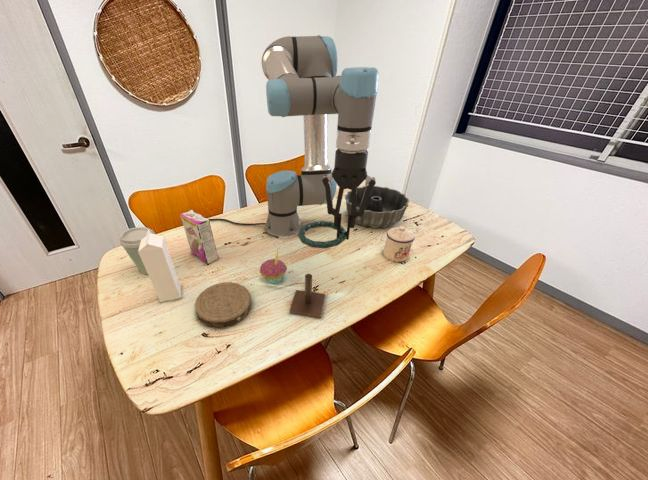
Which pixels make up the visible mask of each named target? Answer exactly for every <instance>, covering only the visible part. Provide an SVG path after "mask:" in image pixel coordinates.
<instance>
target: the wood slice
mask: <svg viewBox="0 0 648 480" xmlns="http://www.w3.org/2000/svg"><path fill="white" fill-rule="evenodd" d="M194 310H195V313H196V316H197V319H198V320H199V322H200V323H201V324H202V325H204V326H206V327H207V328H212V329H227V328H230V327H234V326H236V325H237V324H239V323H241V322H243V321H244V320H245V319H246V318H247V317H248V316H249V314H250V312H251V310H252V297H251V294H250V291H249V290H248V288H246V286H244V285H243V284H240V283H238V282H232V281H229V282H228V281H227V282H226V281H225V282H224V281H223V282H218V283H216V284H213V285H210V286H209V287H207V288H205V289H204V290H203V291H201V292H200V293H199V295H198V296H197V297H196V299H195V302H194Z"/></svg>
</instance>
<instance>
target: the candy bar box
mask: <svg viewBox="0 0 648 480" xmlns="http://www.w3.org/2000/svg"><path fill="white" fill-rule="evenodd" d="M179 216H180V219H181V222H182V225H183V230H184V232H185V235H186V239H187V242H188V245H189V248H190V252H191V254H193V255H194V256H195V257H197V258H199V260H202V262H204V263H205V264H206V265H209V264H212V263H213V262H215V261H217V260H218V259H219V256H218V252H217V251H218V250H217V247H216V243H215V239H214V235H213V230H212V227H211V222H210V221H211V220H208V219H209V218H207V217H205V216H204V215H201V214H200V213H198V212H196V211H195V210H193V209H190V210H187V211H185V212H182V213H180V214H179Z"/></svg>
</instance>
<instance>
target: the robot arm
mask: <svg viewBox="0 0 648 480" xmlns="http://www.w3.org/2000/svg"><path fill="white" fill-rule="evenodd" d="M338 62H339V61H338V50H337V46H336V43H335V41H334V39H333V38H332V37H331V36H328V35H327V36H326V35H320V34H319V35H318V34H317V35H305V36H304V35H303V36H302V35H301V36H289V35H288V36H282V37H280V38H277V39H276V40H274V41H272V42H271V43H270V44H268V46H267V47H266V48H265V50H264V51H263V53H262V57H261V68H262V72H263V74H264V76H265V78H266V79H267V82H266V85H265V88H266V90H265V93H266V106H267V113H268V114H269V115H270V116H271V117H281V118H285V117H299V116H301V117H303V143H304V144H303V146H304V149H303V151H304V166H303V167H302V168H301V170H300V171H301V172H300V174H297V172H296V171H294V170H287V169H286V170H280V171H277V172H276V171H275V172H274V173H271V174H270V175H269V176H268V177H267V179H266V188H265V190H266V196H267V210H268V211H267V213H268V214H267V216H266V221H265V222H256V223H255V222H254V223H245V222H243V223H242V222H235V221H232V220H229V219H227V218H207V219H208V220H209V221H224V222H228V223H230V224H233V225H237V226H263V225H265V226H264V227H265V228H264V229H265V232H266V234H267V235H269V236H271V237H274V238H276V239H277V238H278V239H280V238H281V237H282V238H283V237H284V238H285V237H290V236H295V235H296V234H298V233H299V231H300V229H301V228H302V219H301V218H300V216H299V213H298V207H305V206H316V205H319V206H322V205H326V209H327V214H328V215H332V216H333V222H334V227H337V230H336V238H338V237H339V236H340V227H341V226H342V216H343V213H341V212H340V211H341V206H342V200H343V197H344V191H345V190H349V191H351V214H349V215H348V214H347V216H348V217H347V224H346V225H347V226H346V231H347V233H346V239H345V241H348V240H350V239H349V238H350V230H351V229H354V228H355V225H356V223H355V219H356V217H358V216H360V217H361V216H363V214H364V210H365V207H366V204H367V201H368V198H369V195H370V191H371V189H372V188H373V187H374V186H376V184H377V183H376V181H377V180H376V177H374V176H373V177H372V176H370V175H368V172H367V164H368V156H369V151H368V149H369V148H370V142H371V136H372V135H371V134H372V128H373V127H372V126H373V121H374V113H375V108H376V101H377V94H378V91H379V86H378V85H379V73H380V72H379V70H378V69H377V67H368V66H358V67H357V66H356V67H355V66H354V67H352V66H351V67H344V69H343V70H342V71H341V74H340V75H337V74H338V68H339V67H338V65H339V64H338ZM328 115H337V125H336V126H337V127H336V137H335V138H336V139H335V148H336V150H335V153H334V165H333V166H334V167H333V169H332V167H331V166H330V165H329V164H328V163H329V162H328ZM364 181H365V182H364ZM363 183H364V184H365V185H364V186H366V187H365V191H364V194H363V197H362V201H361V204H360V207H359V210H356V195H357V188H359V187H360V186H361V185H362V184H363ZM337 186H338V193H337V198H336V202H335V208H334V203H333V200H334V198H335V196H336V192H337Z"/></svg>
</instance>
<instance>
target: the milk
mask: <svg viewBox="0 0 648 480" xmlns="http://www.w3.org/2000/svg"><path fill="white" fill-rule="evenodd" d="M149 229H150V228H149ZM149 229H148V231H147V235H146V237H144V238H143V239H142V240H141V242H140V246H139V250H138V253H139V255H140V257H141V260H142V262H143V264H144V266H145V269H146V271H147V273H148V274H147V275H148V278H149V281H150V282H151V285H152V287H153V289H154V291H155V294H156V296H157V298H158V301H159V303H164V302H169V301H175V300H179V299H181V297H182V285H181V282H180V280H179V277H178V273H177V271H176V268H175V266H174V262H173V260H172V256H171V254H170V251H169V248H168V246H167V243H166V240H165V238H164V236H162V235H159V234H156V233H155V234H152V233H150V231H149Z"/></svg>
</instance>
